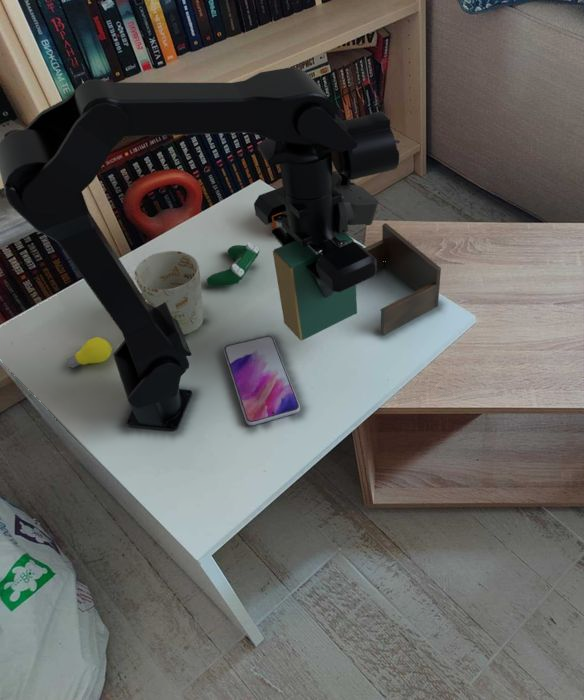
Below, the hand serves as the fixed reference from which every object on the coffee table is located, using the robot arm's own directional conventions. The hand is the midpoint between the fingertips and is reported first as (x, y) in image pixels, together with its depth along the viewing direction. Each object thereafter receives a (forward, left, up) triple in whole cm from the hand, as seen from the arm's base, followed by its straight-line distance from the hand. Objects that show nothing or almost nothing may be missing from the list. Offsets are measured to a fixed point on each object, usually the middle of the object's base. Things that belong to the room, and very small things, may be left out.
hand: (318, 286), depth 89 cm
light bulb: (-4, +32, -12) cm, 35 cm away
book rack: (+13, -7, -13) cm, 20 cm away
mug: (+2, +23, -13) cm, 27 cm away
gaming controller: (+15, +17, -13) cm, 27 cm away
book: (0, 0, -6) cm, 6 cm away
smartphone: (-6, +8, -13) cm, 17 cm away
